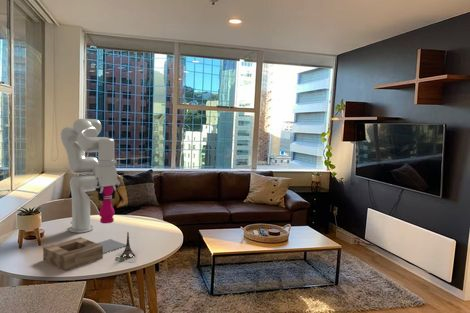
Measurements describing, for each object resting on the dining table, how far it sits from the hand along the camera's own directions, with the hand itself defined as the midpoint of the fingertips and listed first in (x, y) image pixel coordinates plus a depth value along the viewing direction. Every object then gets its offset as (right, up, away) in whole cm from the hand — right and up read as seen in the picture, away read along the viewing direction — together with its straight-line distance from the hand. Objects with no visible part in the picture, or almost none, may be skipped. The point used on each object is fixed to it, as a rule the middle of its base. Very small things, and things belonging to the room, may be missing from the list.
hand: (106, 199), depth 175 cm
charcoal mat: (-1, -24, +3) cm, 24 cm away
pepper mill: (0, -12, +1) cm, 12 cm away
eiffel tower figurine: (+13, -27, -9) cm, 31 cm away
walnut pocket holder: (-10, -26, -14) cm, 31 cm away
